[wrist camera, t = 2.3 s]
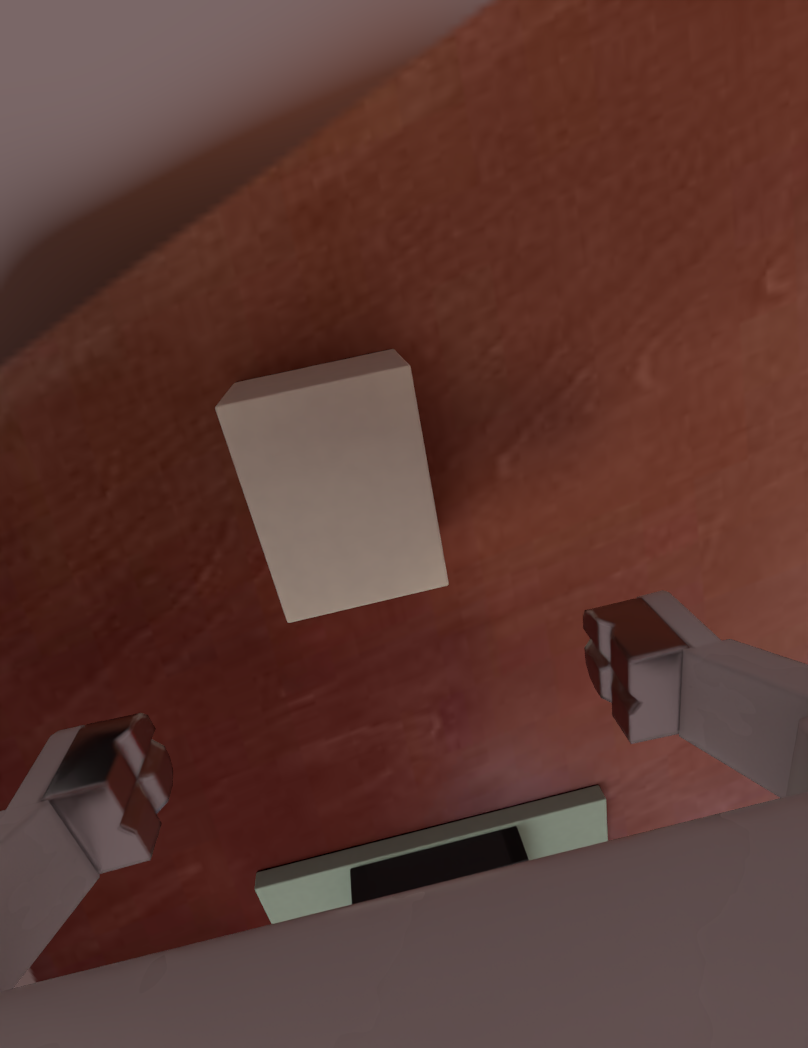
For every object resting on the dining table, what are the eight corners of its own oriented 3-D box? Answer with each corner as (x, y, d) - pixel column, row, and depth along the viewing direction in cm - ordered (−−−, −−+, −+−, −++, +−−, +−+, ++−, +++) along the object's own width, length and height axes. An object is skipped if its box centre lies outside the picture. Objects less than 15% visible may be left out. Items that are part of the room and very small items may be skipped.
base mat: (325, 1015, 38) (326, 1072, 35) (256, 871, 31) (249, 929, 28) (605, 939, 39) (627, 990, 36) (598, 784, 32) (624, 831, 29)
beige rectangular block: (292, 569, 23) (287, 623, 20) (233, 382, 20) (214, 407, 16) (429, 538, 24) (449, 585, 20) (394, 348, 20) (410, 364, 17)
